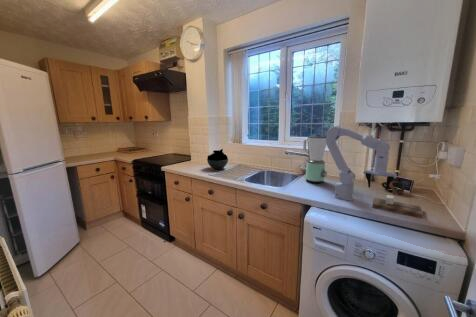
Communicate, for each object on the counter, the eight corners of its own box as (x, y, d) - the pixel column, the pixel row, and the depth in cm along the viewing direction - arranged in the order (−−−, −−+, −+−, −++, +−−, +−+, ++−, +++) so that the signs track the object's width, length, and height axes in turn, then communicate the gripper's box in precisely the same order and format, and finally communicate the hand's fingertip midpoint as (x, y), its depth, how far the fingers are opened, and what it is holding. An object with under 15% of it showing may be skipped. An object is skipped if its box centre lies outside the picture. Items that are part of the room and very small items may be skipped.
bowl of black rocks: (212, 172, 178) (211, 152, 174) (204, 168, 195) (203, 149, 191) (231, 169, 187) (231, 150, 183) (223, 165, 204) (222, 147, 201)
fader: (385, 204, 105) (386, 197, 105) (385, 200, 109) (386, 194, 109) (392, 205, 104) (393, 199, 103) (392, 202, 107) (393, 196, 107)
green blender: (329, 181, 150) (333, 135, 143) (321, 186, 141) (325, 136, 134) (305, 176, 163) (308, 134, 157) (297, 180, 154) (299, 135, 147)
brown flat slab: (372, 207, 107) (372, 203, 106) (373, 200, 115) (374, 197, 115) (422, 218, 95) (422, 214, 94) (419, 210, 103) (420, 206, 103)
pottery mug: (400, 191, 131) (407, 183, 125) (399, 201, 126) (405, 193, 120) (380, 184, 137) (385, 175, 131) (377, 193, 131) (382, 185, 126)
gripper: (363, 163, 107) (361, 187, 110) (398, 167, 98) (394, 193, 101) (365, 161, 113) (362, 184, 115) (397, 165, 104) (394, 189, 107)
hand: (377, 188), depth 109 cm, fingers open, 7 cm apart
